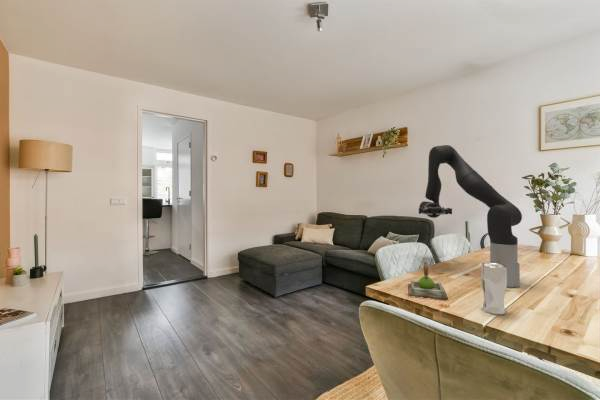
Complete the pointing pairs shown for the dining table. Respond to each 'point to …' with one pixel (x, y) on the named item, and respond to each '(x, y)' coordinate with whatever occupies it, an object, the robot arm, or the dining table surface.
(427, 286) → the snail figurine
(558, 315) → the dining table surface
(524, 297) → the dining table surface
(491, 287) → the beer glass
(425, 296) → the grey shallow tray
